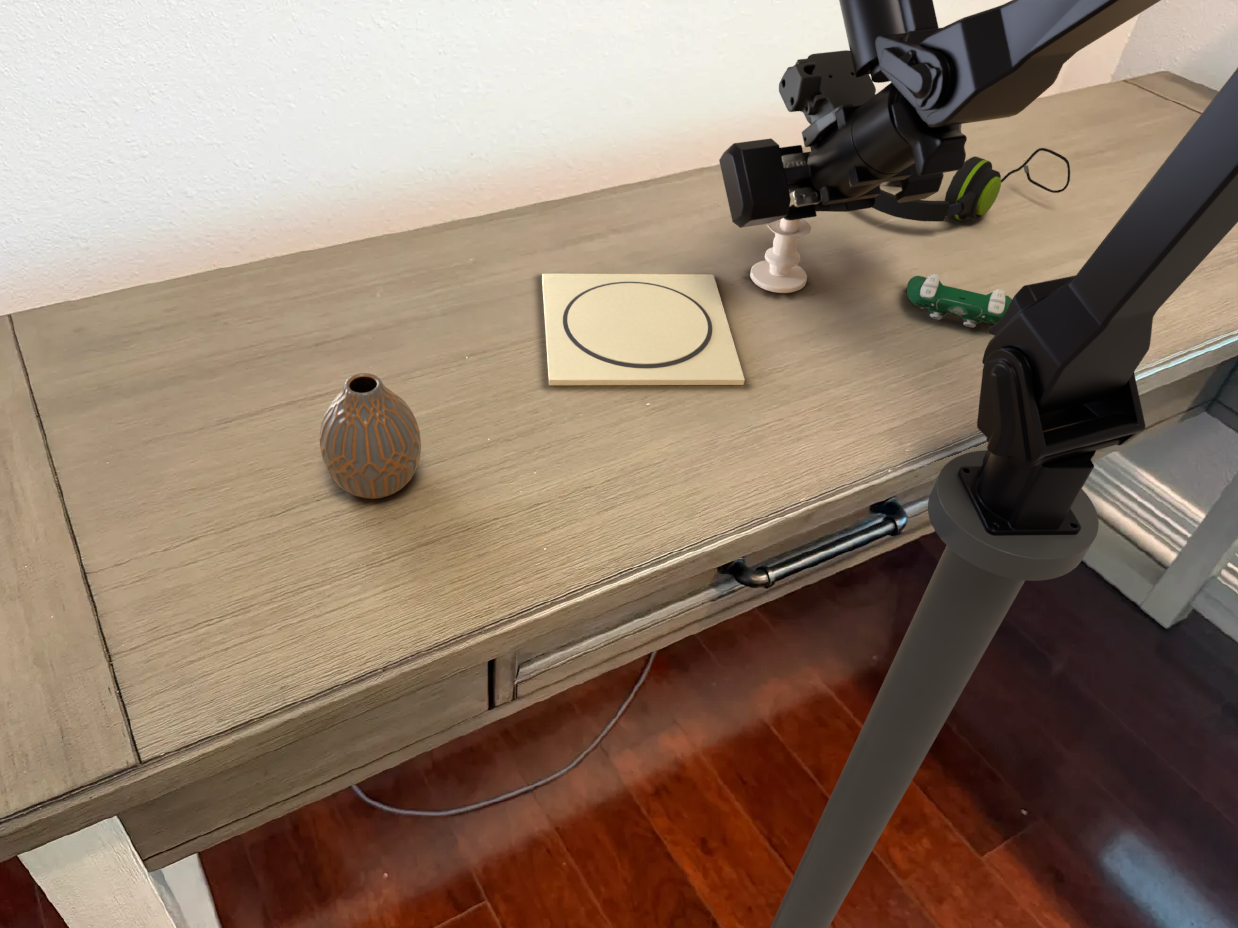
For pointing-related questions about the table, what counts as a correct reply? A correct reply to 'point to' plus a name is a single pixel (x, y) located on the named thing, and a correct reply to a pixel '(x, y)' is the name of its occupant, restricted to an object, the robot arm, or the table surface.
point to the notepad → (637, 330)
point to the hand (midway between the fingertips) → (784, 206)
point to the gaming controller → (957, 301)
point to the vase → (369, 439)
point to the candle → (782, 258)
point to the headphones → (959, 193)
